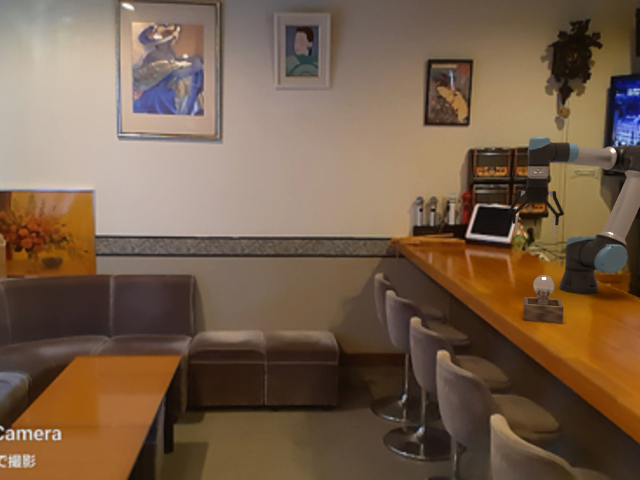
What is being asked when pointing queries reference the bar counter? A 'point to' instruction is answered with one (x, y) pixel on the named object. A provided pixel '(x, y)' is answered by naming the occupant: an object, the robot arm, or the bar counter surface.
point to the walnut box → (543, 310)
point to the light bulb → (543, 288)
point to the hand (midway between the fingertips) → (534, 233)
